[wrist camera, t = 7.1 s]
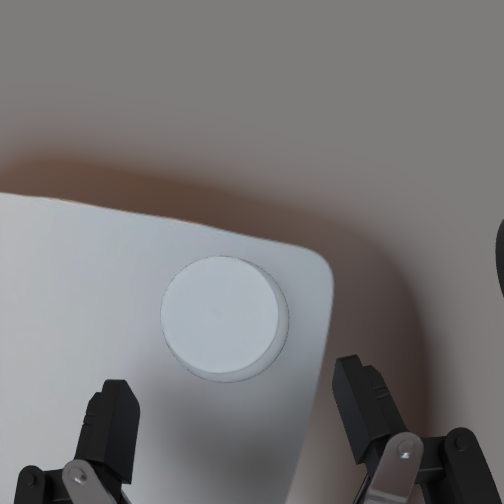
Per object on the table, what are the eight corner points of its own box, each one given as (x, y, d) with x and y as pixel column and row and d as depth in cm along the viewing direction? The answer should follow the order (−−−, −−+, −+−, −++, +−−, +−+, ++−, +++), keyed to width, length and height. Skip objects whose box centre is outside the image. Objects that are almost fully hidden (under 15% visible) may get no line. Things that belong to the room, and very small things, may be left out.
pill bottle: (276, 286, 20) (301, 237, 11) (274, 369, 18) (299, 396, 9) (193, 283, 20) (147, 232, 11) (189, 365, 18) (136, 385, 9)
